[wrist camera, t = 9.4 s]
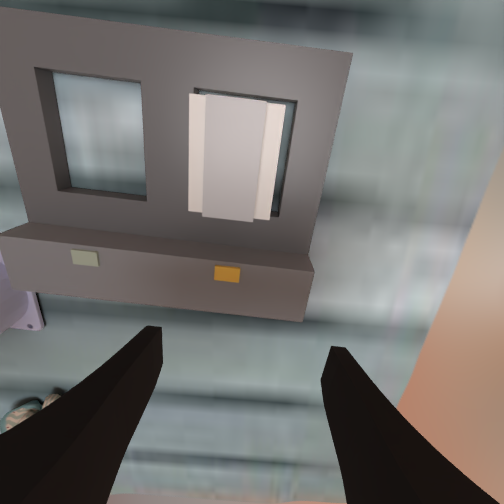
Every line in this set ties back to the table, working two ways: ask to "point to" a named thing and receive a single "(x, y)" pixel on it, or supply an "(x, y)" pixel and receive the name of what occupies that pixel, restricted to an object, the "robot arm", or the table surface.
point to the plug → (233, 156)
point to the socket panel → (162, 168)
